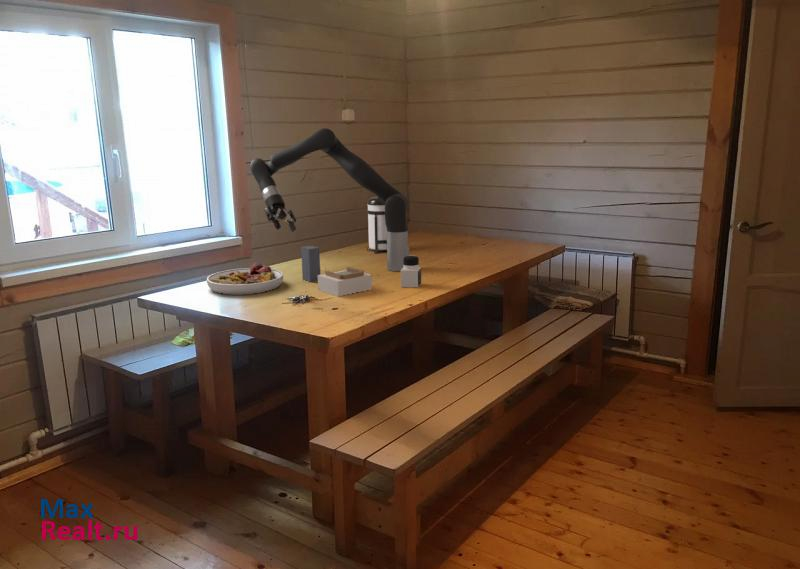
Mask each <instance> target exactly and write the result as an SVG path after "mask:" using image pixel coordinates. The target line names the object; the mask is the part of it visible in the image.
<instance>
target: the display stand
mask: <svg viewBox="0 0 800 569" xmlns="http://www.w3.org/2000/svg"><path fill="white" fill-rule="evenodd" d="M372 276H373V275H372V274H370V273H365V271H364V270H361V269H358V268H354V267H350V266H347V267H346V269H344V270H340V271H339V270H338V271H334V272H333V271H330V270H325V271H324V273H323V274H320V275H318V281H317V291H320V292H323V293H327V294H328V295H329V294H330V295H332V296H334V295H335V297H337V296H338V297H339V296H340V297H344V296H343V295H345V296H348V295H347V294H349V295H353V294H352V293H354V294H357V293H356V292H359V293H362V292H361V291H364V292H367V291H366V290H369V291H371V290H370V289H372V290H373V279H372ZM338 297H337V298H338Z"/></svg>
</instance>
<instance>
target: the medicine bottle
mask: <svg viewBox="0 0 800 569" xmlns="http://www.w3.org/2000/svg"><path fill="white" fill-rule="evenodd" d="M419 259H420V258H419V256H416V255H411V254H410V256H405V257H404V258H403V261H404V267H403V268H402V269H401V271H400V287H401V288H412V287H418V288H419V287H420V286H421V285H420V284H422V266H419V264H420V262H419Z"/></svg>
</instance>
